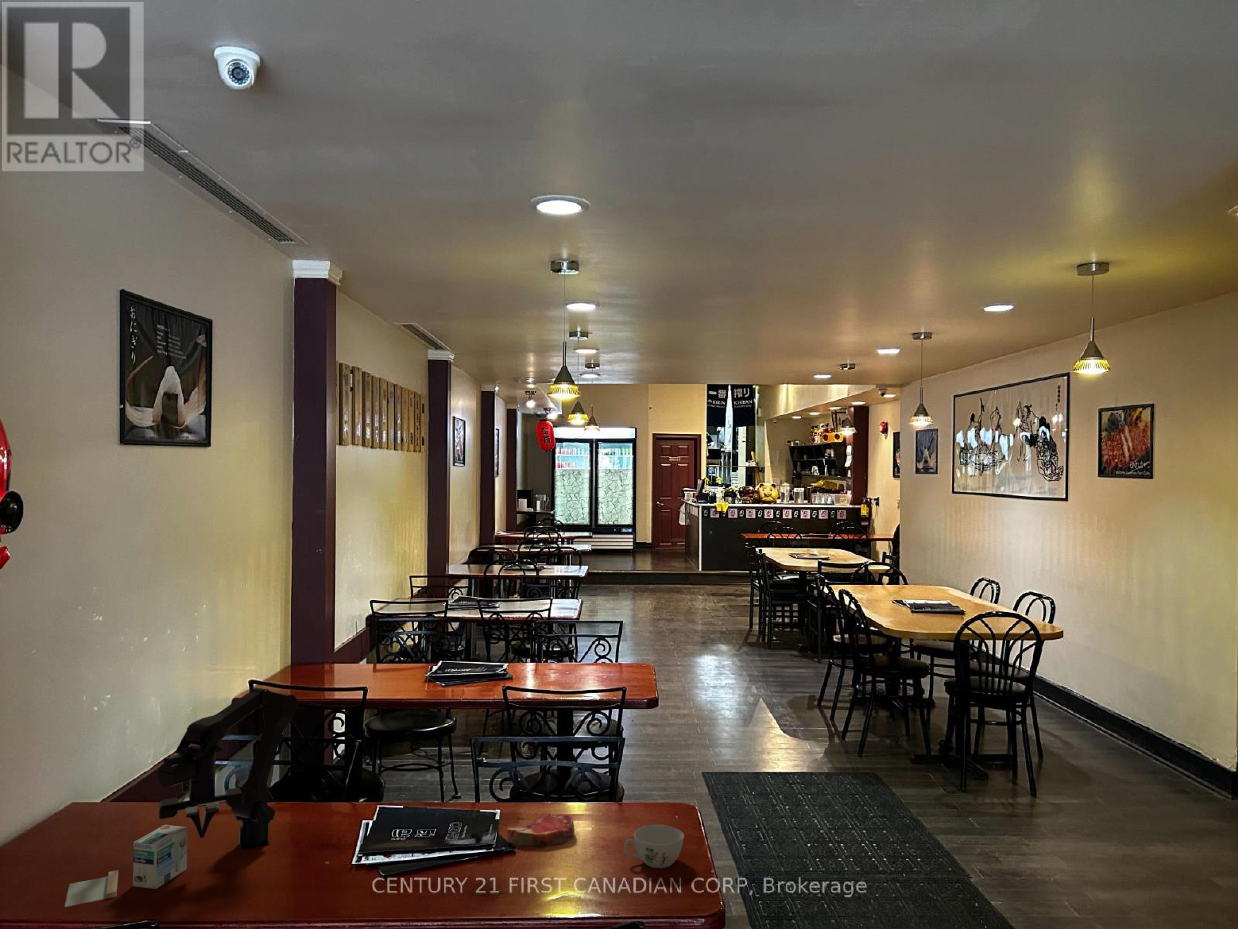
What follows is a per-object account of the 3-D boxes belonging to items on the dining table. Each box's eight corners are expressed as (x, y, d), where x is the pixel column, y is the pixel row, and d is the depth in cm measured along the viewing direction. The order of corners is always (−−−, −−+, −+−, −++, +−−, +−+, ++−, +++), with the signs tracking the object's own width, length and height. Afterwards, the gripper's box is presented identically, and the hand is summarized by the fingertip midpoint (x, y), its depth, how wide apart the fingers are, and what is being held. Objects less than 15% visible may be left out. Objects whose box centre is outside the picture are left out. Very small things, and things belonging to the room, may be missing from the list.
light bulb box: (156, 891, 200) (156, 844, 200) (131, 888, 201) (132, 842, 201) (188, 870, 210) (188, 826, 210) (164, 867, 211) (164, 823, 212)
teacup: (679, 853, 220) (679, 822, 220) (687, 876, 208) (687, 843, 208) (621, 855, 219) (622, 824, 219) (626, 878, 207) (626, 845, 207)
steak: (579, 822, 241) (579, 803, 241) (599, 854, 221) (599, 833, 221) (491, 833, 233) (491, 813, 233) (504, 867, 213) (504, 846, 213)
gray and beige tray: (118, 876, 206) (118, 870, 206) (116, 898, 196) (116, 891, 196) (69, 885, 202) (69, 879, 202) (64, 908, 191) (64, 902, 191)
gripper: (240, 758, 221) (240, 818, 221) (159, 770, 213) (158, 832, 212) (244, 771, 212) (244, 834, 212) (159, 784, 203) (159, 850, 203)
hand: (201, 837), depth 210 cm, fingers closed
